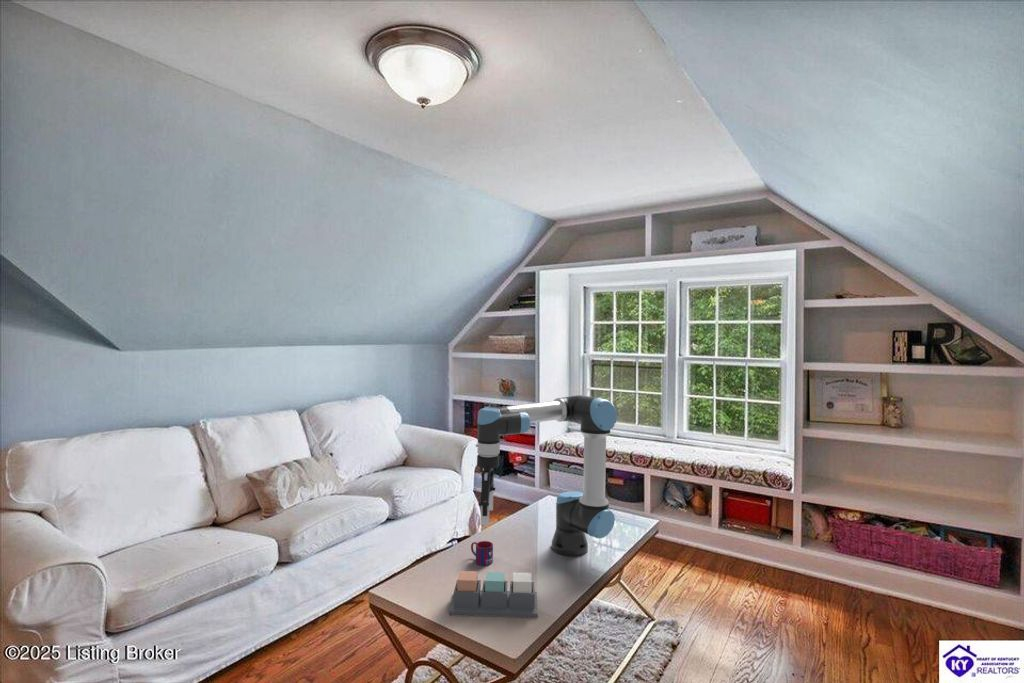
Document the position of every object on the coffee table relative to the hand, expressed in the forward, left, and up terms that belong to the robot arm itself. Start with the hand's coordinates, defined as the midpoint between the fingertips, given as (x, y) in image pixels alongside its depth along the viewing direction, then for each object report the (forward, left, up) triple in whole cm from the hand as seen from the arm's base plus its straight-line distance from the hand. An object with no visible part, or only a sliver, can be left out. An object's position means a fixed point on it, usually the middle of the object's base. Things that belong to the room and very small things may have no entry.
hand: (486, 517), depth 162 cm
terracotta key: (+6, +4, -23) cm, 24 cm away
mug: (+4, -27, -27) cm, 38 cm away
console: (-3, +4, -27) cm, 28 cm away
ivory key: (-12, +4, -23) cm, 26 cm away
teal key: (-3, +4, -23) cm, 24 cm away
